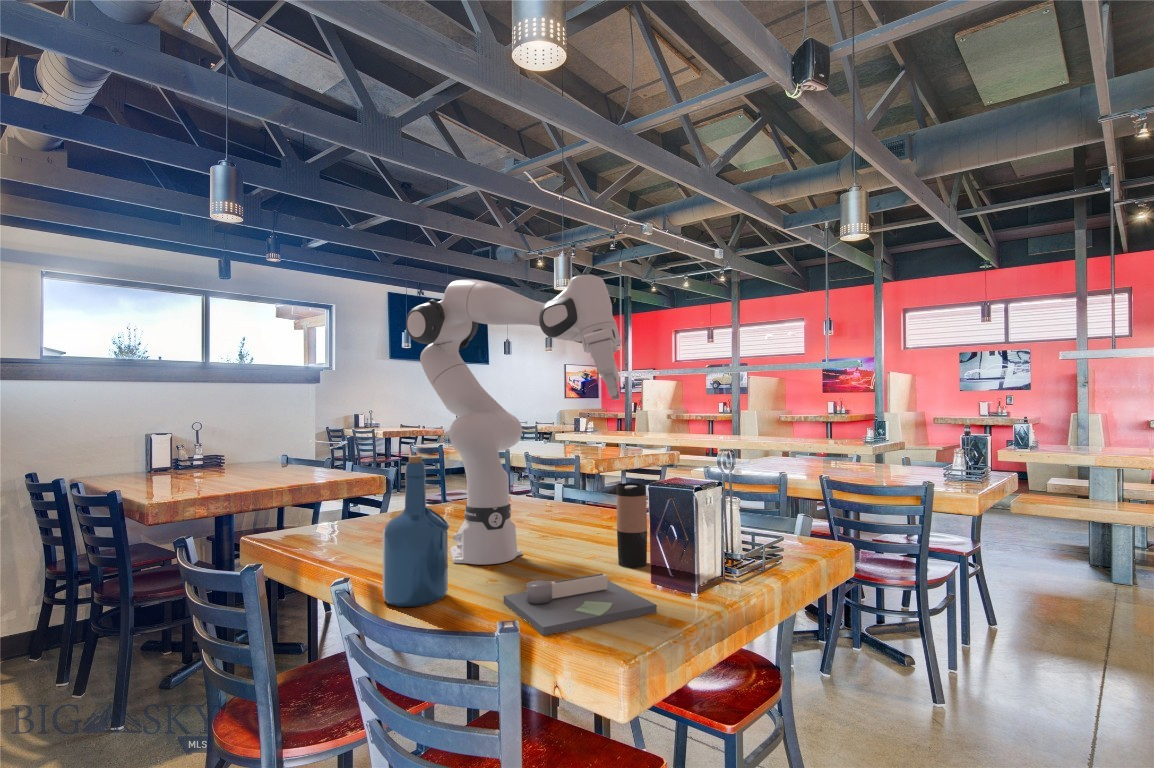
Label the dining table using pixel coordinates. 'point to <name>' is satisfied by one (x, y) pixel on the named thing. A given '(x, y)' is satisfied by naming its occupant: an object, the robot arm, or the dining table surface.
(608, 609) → the dial plate
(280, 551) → the dining table surface
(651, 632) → the dining table surface
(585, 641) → the dining table surface
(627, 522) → the travel mug
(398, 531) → the wine bottle
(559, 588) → the dial lever
